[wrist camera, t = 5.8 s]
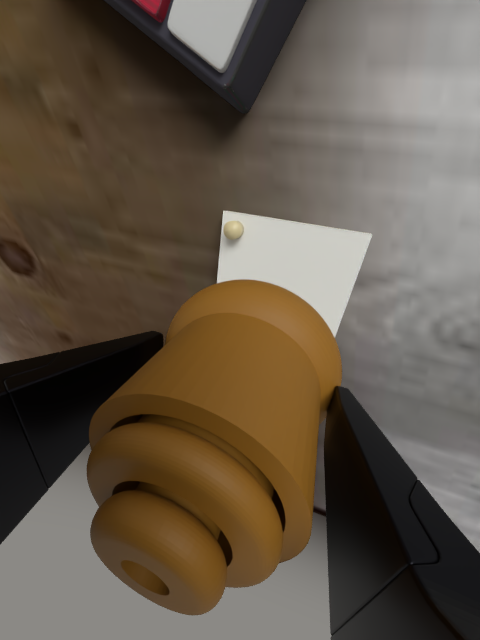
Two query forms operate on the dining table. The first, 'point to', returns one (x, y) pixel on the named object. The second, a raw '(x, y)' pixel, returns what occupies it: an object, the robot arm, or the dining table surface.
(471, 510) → the dining table surface
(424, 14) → the dining table surface
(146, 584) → the ornamental finial
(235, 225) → the base plate
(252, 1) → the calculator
